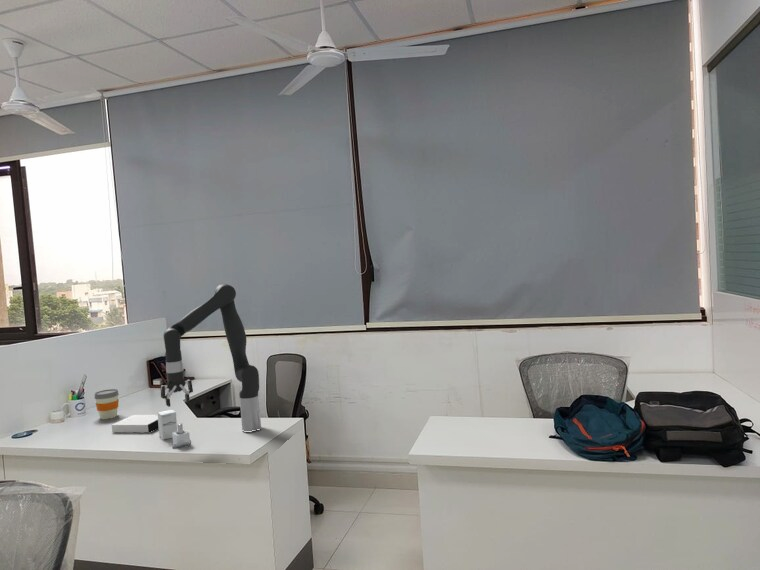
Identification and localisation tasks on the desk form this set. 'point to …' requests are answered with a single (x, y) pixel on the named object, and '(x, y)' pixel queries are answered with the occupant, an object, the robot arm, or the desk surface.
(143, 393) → the desk surface
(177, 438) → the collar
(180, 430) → the grey peg stand
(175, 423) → the supplement box
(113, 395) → the reusable coffee cup
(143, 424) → the disc drive
